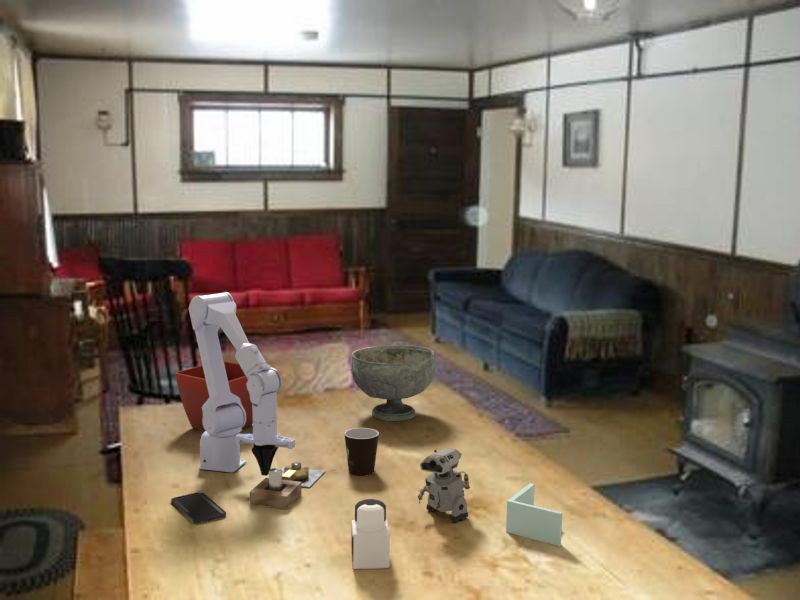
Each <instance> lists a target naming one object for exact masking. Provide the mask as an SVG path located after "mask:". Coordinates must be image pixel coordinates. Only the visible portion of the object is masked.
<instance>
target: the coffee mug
mask: <svg viewBox="0 0 800 600" xmlns="http://www.w3.org/2000/svg"><path fill="white" fill-rule="evenodd" d="M379 435H380V432H379V431H378V430H377V429H375V428H374V429H373V428H368V427H354V428H350V429H347V430H346V431H344V443H345V450H346V460H347V469H348V473H349V474H350V475H351V476H355V475H356V477H367V476H366V475H368V476H371V475H373V474H374V473H375V466H376V459H377V452H378V444H379ZM373 472H374V473H373ZM372 473H373V474H372Z"/></svg>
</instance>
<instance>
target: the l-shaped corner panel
mask: <svg viewBox="0 0 800 600" xmlns="http://www.w3.org/2000/svg"><path fill="white" fill-rule="evenodd" d="M535 485H536V484H535V483H533V482H530V483H529V484H527V485H526V486H524V487H523V488H522V489H521V490H519V491H518V492H517V493H516V494H514V495H513V496H512V497H510V498H509V499H507V500H506V520H505V521H506V523H505V524H506V525H505V526H506V527H505V533H509V534H511V535H512V534H513V535H517V536H521V537H524V538H529V539H531V540H536V541H539V542H542V543H547V544H551V545H555V546H558V547H560V546H561V545H562V530H563V529H562V528H563V527H562V526H563V512H561V511H559V510H558V511H557V510H553V509H549V508H545V507H541V506H537V505H535Z"/></svg>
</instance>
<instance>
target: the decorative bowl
mask: <svg viewBox="0 0 800 600" xmlns="http://www.w3.org/2000/svg"><path fill="white" fill-rule="evenodd" d="M435 369H436V356H435V351H434V350H433V349H432V348H429V347H425V346H419V345H412V344H411V345H401V344H392V345H390V344H389V345H378V346H377V345H375V346H368V347H363V348H360V349H357V350H356V349H355V350H354V351H352V352H351V369H350V371H351V376H352V379H353V381H354V383H355V385H356V386H357V387H358V388H359V390H360V391H361V392H363V393H364V394H365V395H366V396H368V397H369V398H372V399H381V400H385V401H386V402H385V403H384V402H383V403H380V404H377V405H376V406H374V407H372V411H371V415H372V416H373V417H374V418H376V419H378V420H382V421H386V422H387V421H388V422H402V421H407V420H411V419H412V418H415V417H416V410H415V408H414V407H413V406H411V405H409V404H407V403H403V402H402V399H403V400H404V399H410V398H411V397H416V396H417V395H420V394H421V393H423V392H424V391H425V390H426V389H427V388H429V386H430V385H431V383H432V381H433V379H434V375H435Z"/></svg>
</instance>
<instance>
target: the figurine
mask: <svg viewBox="0 0 800 600" xmlns="http://www.w3.org/2000/svg"><path fill="white" fill-rule="evenodd" d="M462 456H463V454H462V452H460V451H459V450H458V449H456V448H455V449H454V448H449V447H446V448H444V449H442V450H439V451H437V449H434V450H433V454H430V455H428V456H426V457H425V458H424V459H423V460H422V461H421V462H420V464H419V467H420V470H421V471H424V472H429V473H430V474H429V475H427V477H425V481H424V482H425V485H424V486H423V488H421V489H419V491H418V492H419V493H418V495H417V499H418V500H419V502H418V504H421V501H423V496H424V495H425V492H426V493H428V497H427V504H426V510H427V511H429V512H433V511H436V510H437V511H439V512H440V513H441V512H442V513H444V512H451V515H450V521H451V522H452V523H453V522H454V523H455V524H456V523H458V522H460V521H461V520H462V521H464V520H466V519H467V518H468V517H469V511H468V503H467V500H466V498H465V490H469V489H470V488H471V487H470V482H469V481H470V480H469V478H470V477H469V474H468V473H466V472H465V471H457V470H454V469H456V468H457V467H458V465H459V463H460V460H461V458H462ZM462 473H463V475H462ZM464 489H465V490H464Z"/></svg>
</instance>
